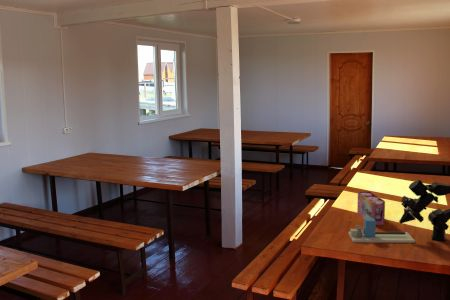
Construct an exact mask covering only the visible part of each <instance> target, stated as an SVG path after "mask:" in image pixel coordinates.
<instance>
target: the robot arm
mask: <svg viewBox="0 0 450 300" xmlns="http://www.w3.org/2000/svg"><path fill="white" fill-rule="evenodd" d="M408 189H409V190H410V191H411V192H412V193H413V194H414V195H415V196H417V198H412V197H407V196H406V195H403V196H402V198H401V200H400V202H402V203H400V204H401V206H402V207H403V214H402V216H401V218H400V219H399V221H398V224H404V223H408V222H411V221H416V220H417V221H418V222H419V223H423V221H424V217H423V216H422V214H421V212H423V211H424V210H425V211H426V210H427V207H428V206H430V204H431V203H432V202H435V203H436V204H438V203H439V197H441V196H447V195H450V184H449V183H448V184H447V183H443V182H437V181H434V182H432V183H431V184H430V183H428V184H424V182H423V181H422V180H421V179H420V178H419V179H416V180H415V181H413V182H411V183H410V184H409V186H408ZM427 219H428V221H429V222H430V224H431V225H432V226H433V227H432V234H431V240H432V241H440V242H446V239H447V237H446V231H448V229H449V224H447V223H448V222H449V221H450V208H448V209H446V210H442V208H440V207H439V208H437V209H435V210H431V211H430V213H428V216H427Z"/></svg>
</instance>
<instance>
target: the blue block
mask: <svg viewBox="0 0 450 300" xmlns="http://www.w3.org/2000/svg"><path fill="white" fill-rule="evenodd" d="M376 226H377V225H376V221H375V219H374V218H363V229H362V230H363V231H364V232H365V237H375V232H376Z"/></svg>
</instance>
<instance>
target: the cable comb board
mask: <svg viewBox="0 0 450 300" xmlns="http://www.w3.org/2000/svg"><path fill="white" fill-rule="evenodd" d="M348 235H349V238H350V239H351V240H352V242H353V243H403V244H404V243H406V244H407V243H410V244H411V243H415V242H416V240H415V239H414V238H413V237H412V236H411V235H410V234H409V232H407V231H375V237H365V232H364V231H363V229H362V227H361V225H360V224H356V225H355V228H350V231H348Z"/></svg>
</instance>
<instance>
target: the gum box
mask: <svg viewBox="0 0 450 300" xmlns="http://www.w3.org/2000/svg"><path fill="white" fill-rule="evenodd" d="M356 209H357V212H356V213H357V214H358V215H359V216H360V217H361V218H362V219H364V218H374V219H375V221H376V226H380V225H382V226H383V225H385V215H386V211H385V210H386V201H385V200H384V199H382V198H381V197H379V196H378V195H376V194H375V193H373V192H371V191H370V190H369V191H358V192H357V207H356Z"/></svg>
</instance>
